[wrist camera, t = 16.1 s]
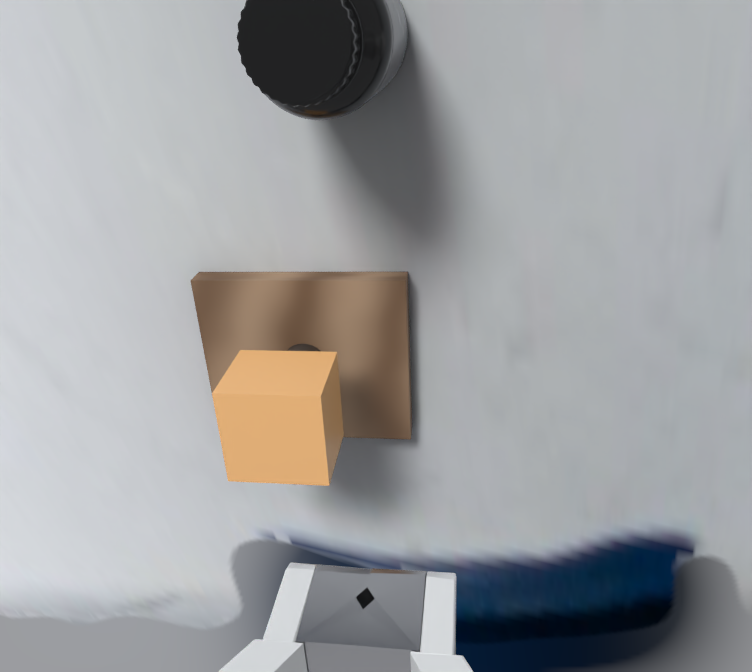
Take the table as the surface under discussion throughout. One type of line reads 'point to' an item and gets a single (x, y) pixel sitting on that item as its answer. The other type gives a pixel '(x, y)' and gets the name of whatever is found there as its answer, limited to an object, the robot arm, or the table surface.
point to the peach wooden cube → (280, 416)
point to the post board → (319, 334)
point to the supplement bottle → (322, 52)
